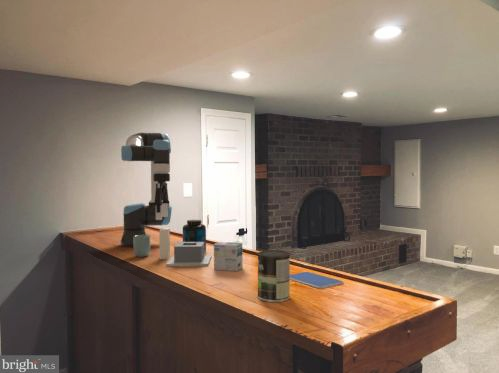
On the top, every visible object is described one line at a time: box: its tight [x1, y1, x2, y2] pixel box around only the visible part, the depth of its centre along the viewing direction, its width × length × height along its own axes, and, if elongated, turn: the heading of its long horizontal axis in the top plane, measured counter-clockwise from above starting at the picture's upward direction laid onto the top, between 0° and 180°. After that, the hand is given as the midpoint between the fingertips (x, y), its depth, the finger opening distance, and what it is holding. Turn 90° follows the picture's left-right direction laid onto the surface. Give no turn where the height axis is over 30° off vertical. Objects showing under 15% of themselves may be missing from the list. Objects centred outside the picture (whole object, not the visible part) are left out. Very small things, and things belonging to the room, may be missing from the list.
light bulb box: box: [213, 241, 244, 272], centre depth 161 cm, size 11×7×11 cm, turn 71°
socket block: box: [165, 241, 212, 267], centre depth 175 cm, size 18×18×8 cm
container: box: [182, 219, 207, 253], centre depth 199 cm, size 12×12×16 cm
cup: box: [133, 234, 151, 258], centre depth 187 cm, size 8×8×10 cm
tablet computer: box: [290, 271, 344, 290], centre depth 143 cm, size 19×13×1 cm, turn 35°
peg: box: [158, 227, 171, 260], centre depth 183 cm, size 4×4×14 cm
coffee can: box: [257, 249, 291, 303], centre depth 122 cm, size 10×10×14 cm
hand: (162, 218), depth 181 cm, fingers open, 13 cm apart
